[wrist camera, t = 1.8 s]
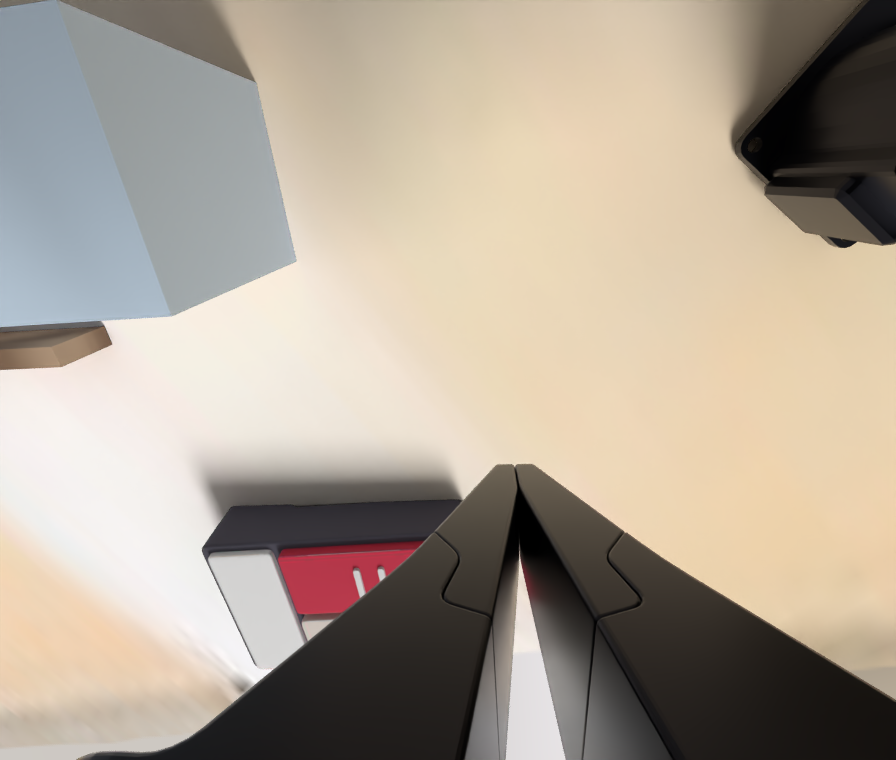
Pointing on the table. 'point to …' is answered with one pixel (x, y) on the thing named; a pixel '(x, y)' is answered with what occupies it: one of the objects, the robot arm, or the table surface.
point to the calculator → (309, 564)
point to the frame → (49, 347)
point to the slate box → (126, 174)
